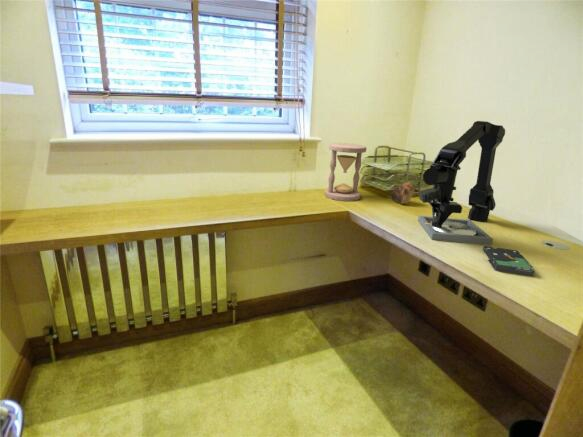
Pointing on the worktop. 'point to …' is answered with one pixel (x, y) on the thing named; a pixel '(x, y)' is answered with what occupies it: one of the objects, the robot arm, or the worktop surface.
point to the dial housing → (478, 239)
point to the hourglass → (343, 190)
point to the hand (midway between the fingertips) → (437, 223)
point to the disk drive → (508, 261)
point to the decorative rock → (403, 193)
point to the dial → (451, 227)
